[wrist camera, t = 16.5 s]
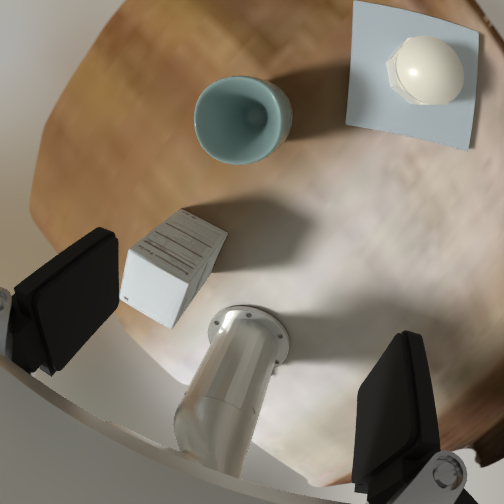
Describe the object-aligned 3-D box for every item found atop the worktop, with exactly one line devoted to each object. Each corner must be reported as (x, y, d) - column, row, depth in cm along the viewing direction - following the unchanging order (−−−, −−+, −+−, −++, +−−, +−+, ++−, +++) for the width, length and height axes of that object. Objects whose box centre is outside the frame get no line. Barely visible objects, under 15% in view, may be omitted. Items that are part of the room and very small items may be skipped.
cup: (296, 79, 31) (281, 71, 22) (299, 148, 34) (285, 166, 26) (226, 83, 33) (188, 80, 24) (231, 148, 36) (196, 167, 28)
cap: (408, 33, 24) (421, 22, 19) (455, 73, 24) (475, 71, 20) (375, 75, 27) (383, 71, 22) (423, 115, 28) (439, 119, 23)
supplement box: (211, 274, 45) (171, 332, 34) (165, 249, 45) (116, 299, 34) (230, 232, 41) (190, 285, 30) (180, 205, 41) (126, 248, 30)
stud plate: (463, 149, 29) (482, 158, 24) (345, 123, 32) (346, 127, 27) (473, 34, 22) (493, 26, 18) (353, 4, 25) (355, -12, 20)
